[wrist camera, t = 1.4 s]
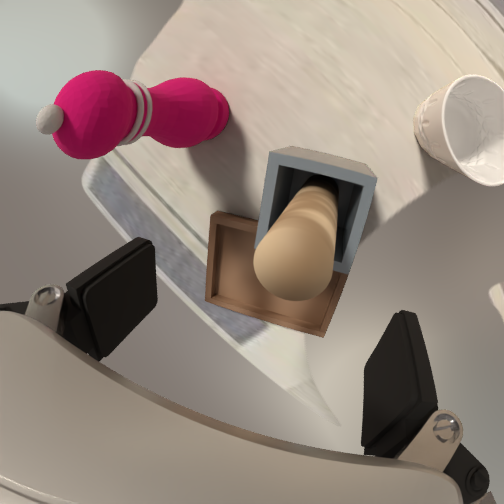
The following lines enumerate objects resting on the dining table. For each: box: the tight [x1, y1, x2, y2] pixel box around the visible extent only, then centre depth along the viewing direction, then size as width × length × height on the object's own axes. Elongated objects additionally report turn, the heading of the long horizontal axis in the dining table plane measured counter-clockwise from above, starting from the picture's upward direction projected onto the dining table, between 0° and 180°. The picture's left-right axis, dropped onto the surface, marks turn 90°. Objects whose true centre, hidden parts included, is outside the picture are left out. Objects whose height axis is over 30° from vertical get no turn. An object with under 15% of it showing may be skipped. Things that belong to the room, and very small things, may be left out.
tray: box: [205, 211, 348, 337], centre depth 32 cm, size 16×12×2 cm
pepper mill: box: [36, 70, 229, 159], centre depth 18 cm, size 7×7×20 cm
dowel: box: [253, 174, 339, 301], centre depth 19 cm, size 4×4×16 cm
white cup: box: [413, 75, 504, 186], centre depth 15 cm, size 8×8×10 cm
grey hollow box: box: [254, 146, 377, 274], centre depth 23 cm, size 8×8×9 cm
